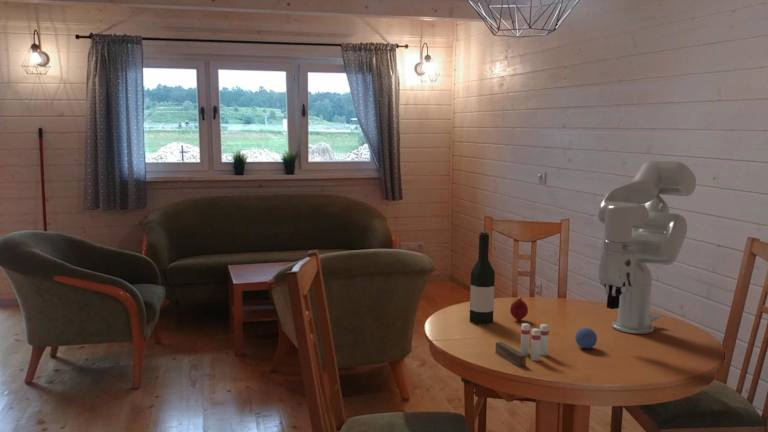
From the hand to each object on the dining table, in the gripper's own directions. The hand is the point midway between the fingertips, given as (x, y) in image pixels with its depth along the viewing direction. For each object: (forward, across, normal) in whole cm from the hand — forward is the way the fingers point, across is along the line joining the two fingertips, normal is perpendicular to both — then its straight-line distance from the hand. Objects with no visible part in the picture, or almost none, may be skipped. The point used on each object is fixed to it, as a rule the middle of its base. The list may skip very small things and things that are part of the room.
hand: (612, 307), depth 192 cm
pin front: (+12, 0, +24) cm, 26 cm away
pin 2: (+12, -2, +28) cm, 31 cm away
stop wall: (+12, 0, +35) cm, 37 cm away
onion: (+11, +30, +12) cm, 35 cm away
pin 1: (+12, +3, +28) cm, 31 cm away
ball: (+8, 0, +9) cm, 12 cm away
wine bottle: (+12, +34, +24) cm, 43 cm away
